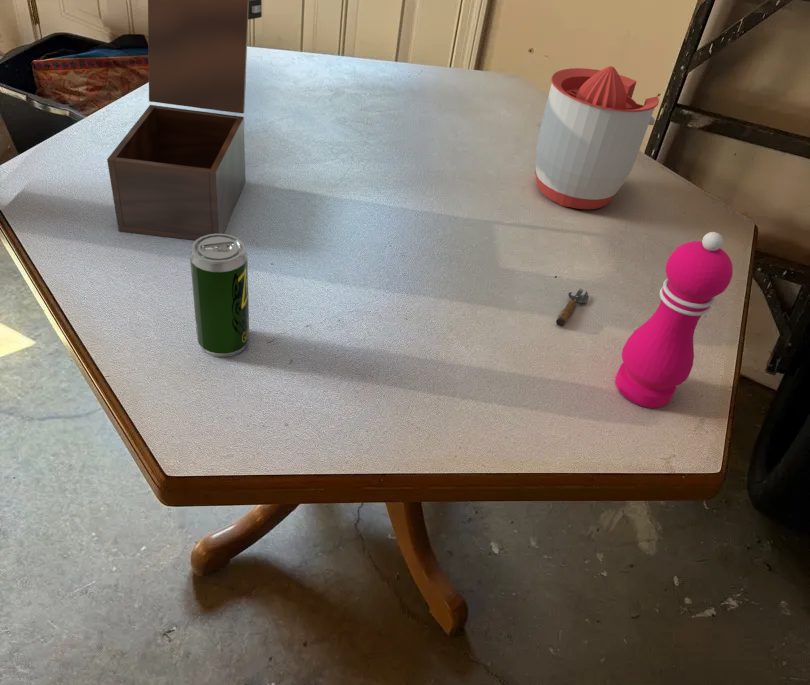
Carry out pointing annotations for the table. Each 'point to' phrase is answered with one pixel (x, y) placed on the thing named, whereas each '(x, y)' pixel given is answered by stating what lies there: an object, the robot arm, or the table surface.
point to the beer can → (220, 294)
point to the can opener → (571, 306)
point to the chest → (178, 173)
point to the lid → (198, 53)
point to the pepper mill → (673, 323)
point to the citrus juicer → (589, 136)
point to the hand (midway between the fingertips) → (202, 19)
